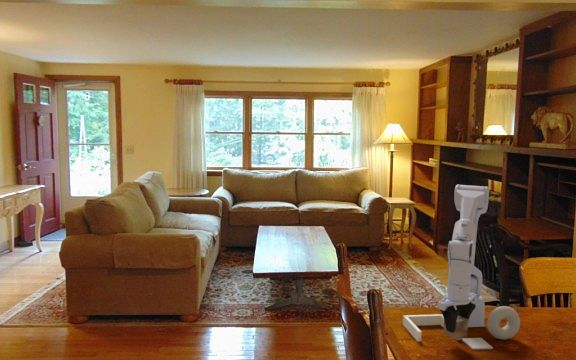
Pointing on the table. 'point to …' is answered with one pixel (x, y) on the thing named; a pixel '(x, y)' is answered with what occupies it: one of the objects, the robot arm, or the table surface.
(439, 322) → the cream u-shaped arch
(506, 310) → the donut
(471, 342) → the mat
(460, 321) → the block
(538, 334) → the table surface
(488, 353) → the table surface
